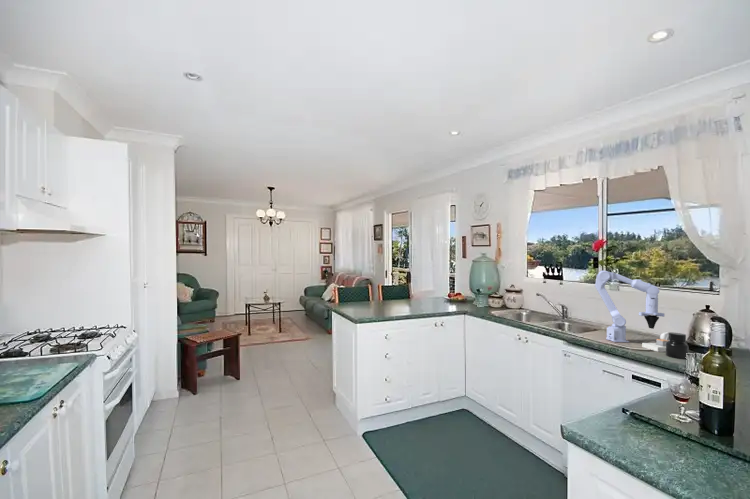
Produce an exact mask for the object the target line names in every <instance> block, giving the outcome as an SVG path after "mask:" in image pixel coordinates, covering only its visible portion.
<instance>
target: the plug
mask: <svg viewBox="0 0 750 499" xmlns="http://www.w3.org/2000/svg"><path fill="white" fill-rule="evenodd" d="M668 341H669V340H665V339H660V338H656V342H655V343H656V345H659V346H663V347H666V342H668Z"/></svg>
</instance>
